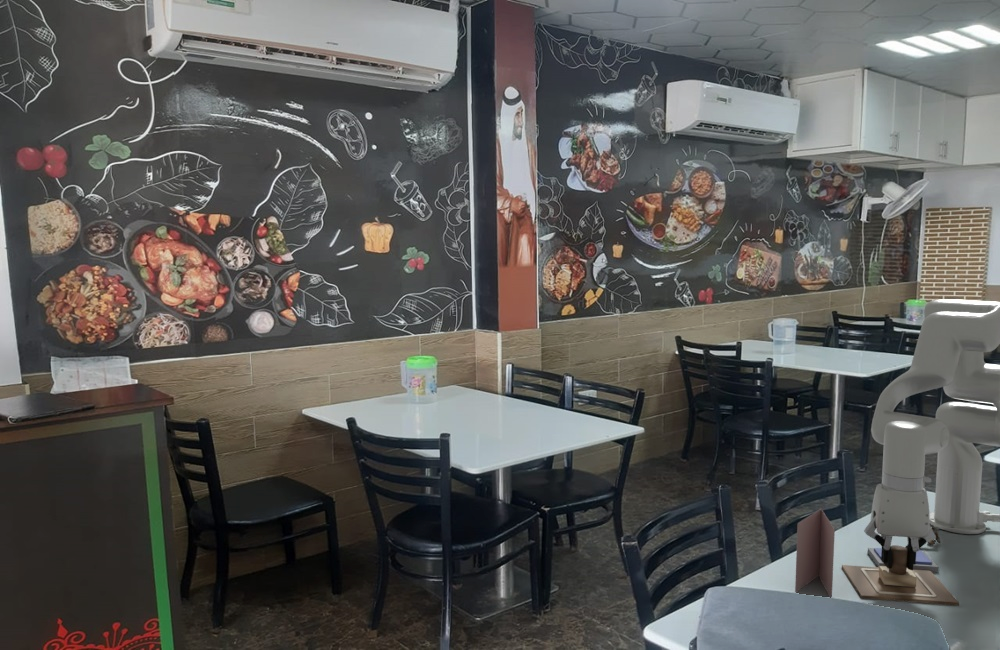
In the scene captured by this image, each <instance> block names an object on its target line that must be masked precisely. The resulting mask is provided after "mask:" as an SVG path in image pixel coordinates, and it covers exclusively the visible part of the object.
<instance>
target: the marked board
mask: <svg viewBox="0 0 1000 650" xmlns="http://www.w3.org/2000/svg"><path fill="white" fill-rule="evenodd" d="M841 569H842V570H843V572H844V574H845V575H846V577H847V578H848V580H849V581H850V583H851V585H853V588H854V589H855V590H856V593H857V594H858V595H859V597H860V599H869V600H881V601H882V600H883V601H891V602H892V601H895V602H907V603H909V602H910V603H921V604H933V605H934V604H936V605H945V606H946V605H949V606H960V602H959V601H958V600H957V598H956V597H955V596H954V595H953V594H952V592H950V590H949V589H948V588H947V587H945V585H944V584H943V583H942V582H941V581H940V580H939V579H938V578H937V576H935V574H934V572H931V571H925V570H912V571H913V573H914V574H915V575H916V577H917V580H916V587H915V588H906V587H895V586H884V584H883V582H882V581H881V579H880V578H879V567H878V566H877V567H876V566H864V565H863V566H862V565H848V564H847V565H846V564H842V565H841Z"/></svg>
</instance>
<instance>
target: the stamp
mask: <svg viewBox="0 0 1000 650" xmlns="http://www.w3.org/2000/svg"><path fill="white" fill-rule="evenodd" d="M905 547H906V546H901V545H898V544H896V545H893V544H892V545H891V550H892V551H893V557H892V568H891V569H888V568H887V567H886V566H879V578H880V579H881V581H882V582H883V584H884V586H895V587H906V588H915V587H916V580H917V577H916V575H915V574H914V573H913V571H912V570H909V569H908V568H907V552H908V550H907V548H905Z"/></svg>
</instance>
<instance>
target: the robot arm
mask: <svg viewBox="0 0 1000 650" xmlns="http://www.w3.org/2000/svg"><path fill="white" fill-rule="evenodd" d="M923 310H924V311H923V314H924V316H923V317H924V320H923V321H922V324H921V328H920V331H919V334H918V335H919V336H918V339H917V342H916V345H915V350H914V354H913V357H912V360H911V364H910V367H909V369H908V370H907V371H905V372H904V373H902V374H900V375H899V376H898V377H896V378H895V379H893V380H892V381H891V382H890V383H889V384H888V385H887V386H886V387H885V388H884V389H883V390H882V392H881V393H880V395H879V397H878V400H877V401H876V406H875V410H874V413H873V417H872V422H871V429H870V432H871V436H872V438H873V440H874V441H875V442H876V443H878V444H880V445H883V451H882V452H883V453H882V454H883V455H882V456H883V457H882V469H881V470H882V471H881V472H882V474H881V483H877V484H876V487H875V490H874V495H873V499H872V506H871V513H870V514H871V515H870V522H869V523H868V524H867V525H866V527H865V528H864V530H863V531H864V533H865V535H867V536H868V537H870V538H872V539H873V540H875V541H876V542H877V543H878V544H879V545H880V546H881V548H882V552H881V560H882V562H883V563H884V564H885V565H886V567H887V568H888V569H891V568H892V557H893V551H892V550H891V546H892V545H891V544H892V542H893V541H892V540H893V537H899V538H900V537H901V538H906V539H907V545H905V546H904V547H905V548H907V550H908V552H907V568H908V569H909V570H913V565H915V564H916V552H918V551H920V548H922V547H924V546H925V545H927V543H928V542H929V541H932V540H935V539H936V535H935V534H934V532H933V530H932V529H931V528H932V527H934V526H935V527H939V529H940V530H942V531H943V530H944V531H946V532H950V533H954V534H955V533H956V534H964V535H978V534H981V533H984V532H985V531H986V530H987V529H986V526H987V525H986V523H987V522H993V523H1000V514H999V513H991V512H990V511H988V510H983V511H982V509H980V505H981V490H982V488H981V487H982V475H983V459H982V455H981V454H980V452H979V450H978V449H977V448H976V446H975V445H974V444H978V445H979V444H980V445H985V446H986V445H987V446H990V447H999V448H1000V364H995V363H986V362H985V360H984V358H985V356H984V353H990V352H993V351H995V350H996V349H997V347H999V346H1000V301H995V300H992V301H991V300H970V299H969V300H968V299H948V298H946V299H933V300H930V301H929V302H928V303H926V304H925V307H924V309H923ZM940 388H942V389H943V392H944V393H945V395H946V396H947V397H949V398H951V399H955V400H962V401H963V402H962V401H948V402H944V403H942V404H940V405H939V407H937V410H936V412H935V417H930V416H924V415H923V416H922V415H916V414H909V413H904V412H897V411H894V410H895V409H896V407H897V406H898V405H899V403H900V402H902V401H903V400H905V399H907V398H908V397H910V396H914V395H916V394H919V393H923V392H927V391H928V392H929V391H932V390H935V389H940ZM964 401H968V402H964ZM971 402H974V403H971ZM975 402H976V403H975ZM977 403H978V404H977ZM979 403H983V404H979ZM985 404H989V405H985ZM990 404H991V405H993V406H991V405H990ZM933 454H937V463H936V465H937V466H936V478H935V479H936V480H935V481H936V482H935V493H934V495H935V496H934V497H935V498H934V511H932V512H930V505H929V497H928V492H927V490H926V488H925V487H926V485H931V484H932V478H931V477H928V476H926V475H925V467H926V464H925V463H926V455H933ZM931 526H932V527H931Z"/></svg>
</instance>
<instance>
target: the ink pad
mask: <svg viewBox="0 0 1000 650" xmlns="http://www.w3.org/2000/svg"><path fill="white" fill-rule="evenodd" d="M881 552H882V547H881V548H880V547H874V548H873V547H867V554H868V556H869V557H870V559H872V561H873V562H874V563H875V565H876V566H877V567H879V566H886V565H885V564H884V563H883V562H882V560H881ZM939 569H940V567H939V565H938V564H937V563H936V562H935V561H934V560H933V559H932V558H931V557H930V556H929V555H928V554H927V553H926V552H925V551H923V550H919V551H918V552H916V564H915V565H913V570H925V571H931V572H932V573H939V571H940V570H939Z"/></svg>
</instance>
